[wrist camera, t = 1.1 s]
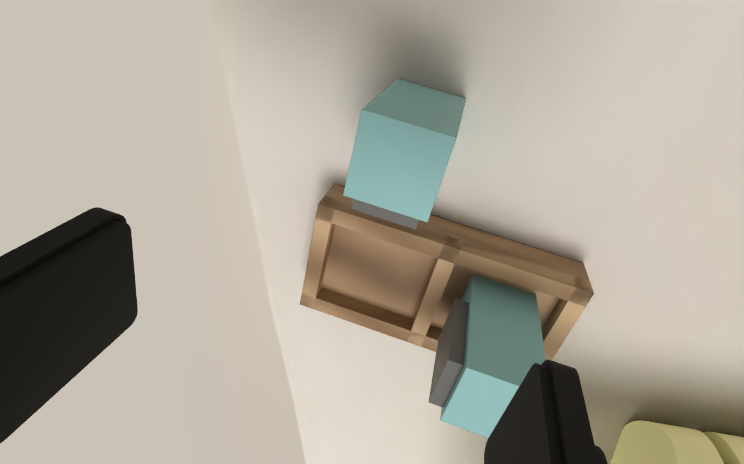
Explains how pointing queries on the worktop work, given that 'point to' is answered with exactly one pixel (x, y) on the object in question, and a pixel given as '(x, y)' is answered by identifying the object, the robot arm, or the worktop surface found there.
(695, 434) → the slatted curved stool
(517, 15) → the worktop surface
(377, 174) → the teal rectangular block
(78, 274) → the robot arm
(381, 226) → the divided wooden tray
